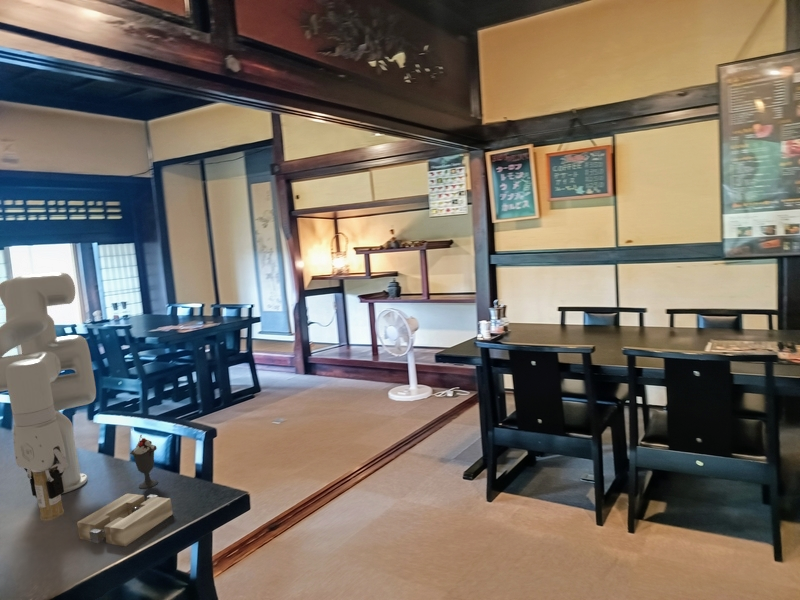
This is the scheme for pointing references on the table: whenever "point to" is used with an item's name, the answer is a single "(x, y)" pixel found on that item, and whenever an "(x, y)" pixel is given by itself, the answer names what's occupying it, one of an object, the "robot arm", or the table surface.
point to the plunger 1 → (97, 535)
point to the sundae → (145, 461)
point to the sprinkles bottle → (46, 497)
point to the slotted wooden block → (126, 518)
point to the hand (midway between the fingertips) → (48, 493)
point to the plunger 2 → (140, 506)
